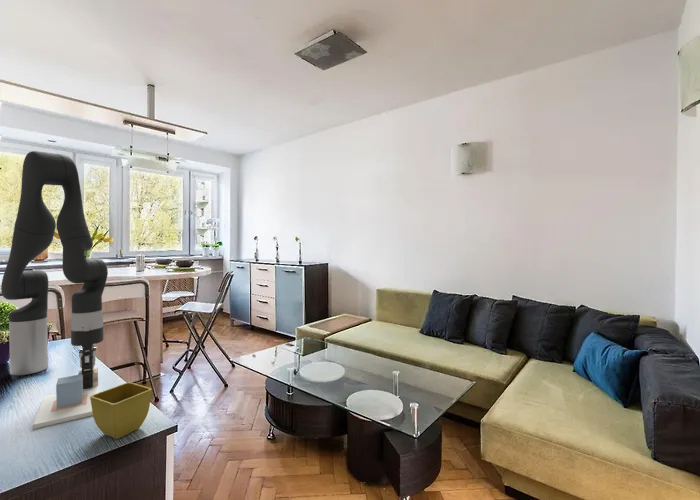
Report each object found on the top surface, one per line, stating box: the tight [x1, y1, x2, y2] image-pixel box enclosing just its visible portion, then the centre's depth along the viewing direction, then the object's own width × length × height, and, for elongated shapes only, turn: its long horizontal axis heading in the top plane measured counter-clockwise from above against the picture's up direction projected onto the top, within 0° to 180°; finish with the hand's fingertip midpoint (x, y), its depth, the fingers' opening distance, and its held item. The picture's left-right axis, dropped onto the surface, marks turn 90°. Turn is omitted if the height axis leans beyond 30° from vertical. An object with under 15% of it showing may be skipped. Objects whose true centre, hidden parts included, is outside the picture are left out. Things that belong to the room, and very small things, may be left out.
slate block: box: [55, 374, 83, 408], centre depth 89 cm, size 5×5×6 cm
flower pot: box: [90, 381, 153, 440], centre depth 77 cm, size 9×9×9 cm
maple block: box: [77, 367, 99, 387], centre depth 100 cm, size 4×4×5 cm
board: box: [32, 385, 100, 430], centre depth 89 cm, size 18×12×1 cm, turn 36°
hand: (88, 384), depth 100 cm, fingers open, 4 cm apart
